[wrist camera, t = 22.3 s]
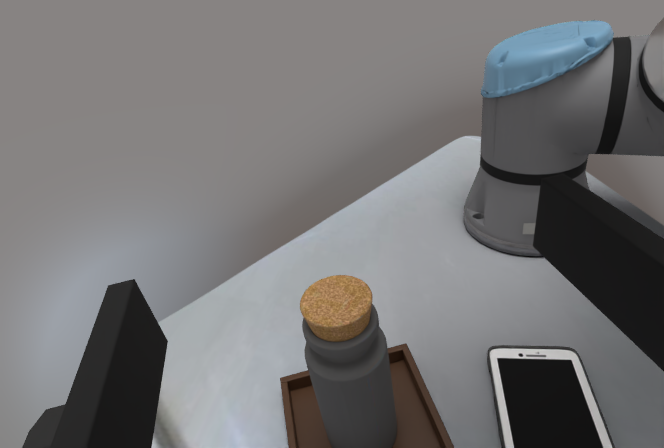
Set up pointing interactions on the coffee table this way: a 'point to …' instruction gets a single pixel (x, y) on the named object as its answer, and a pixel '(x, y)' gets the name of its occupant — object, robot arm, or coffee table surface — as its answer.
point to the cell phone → (545, 399)
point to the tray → (409, 397)
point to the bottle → (349, 363)
